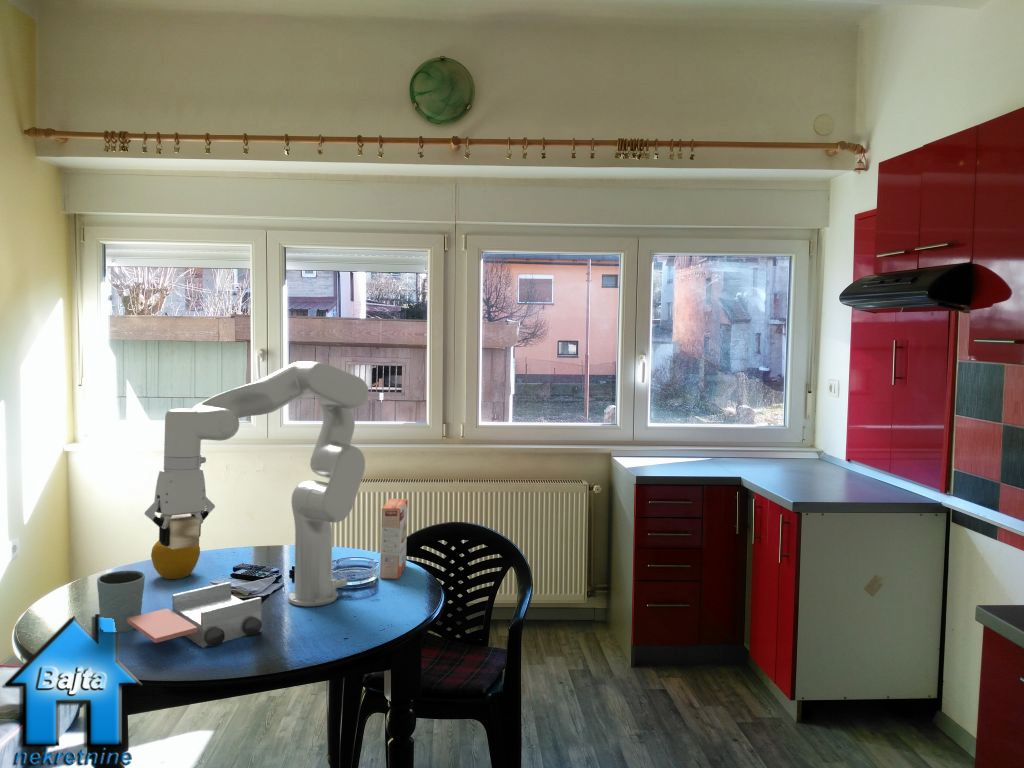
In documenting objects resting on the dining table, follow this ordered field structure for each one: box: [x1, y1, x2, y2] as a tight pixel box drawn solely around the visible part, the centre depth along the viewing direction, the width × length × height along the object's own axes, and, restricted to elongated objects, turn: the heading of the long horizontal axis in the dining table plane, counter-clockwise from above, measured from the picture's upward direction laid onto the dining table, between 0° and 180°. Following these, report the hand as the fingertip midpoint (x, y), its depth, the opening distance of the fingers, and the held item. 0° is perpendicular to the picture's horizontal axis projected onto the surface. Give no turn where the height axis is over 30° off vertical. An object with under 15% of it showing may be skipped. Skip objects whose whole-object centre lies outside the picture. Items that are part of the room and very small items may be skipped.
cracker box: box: [379, 498, 409, 580], centre depth 225 cm, size 14×6×21 cm, turn 179°
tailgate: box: [127, 608, 197, 644], centre depth 170 cm, size 1×16×9 cm
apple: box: [150, 539, 201, 580], centre depth 217 cm, size 13×13×11 cm
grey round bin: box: [96, 570, 146, 633], centre depth 179 cm, size 10×10×12 cm
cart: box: [172, 581, 263, 648], centre depth 179 cm, size 14×18×8 cm
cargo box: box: [166, 514, 200, 549], centre depth 171 cm, size 6×6×6 cm
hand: (179, 542), depth 171 cm, fingers closed on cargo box, 6 cm apart
